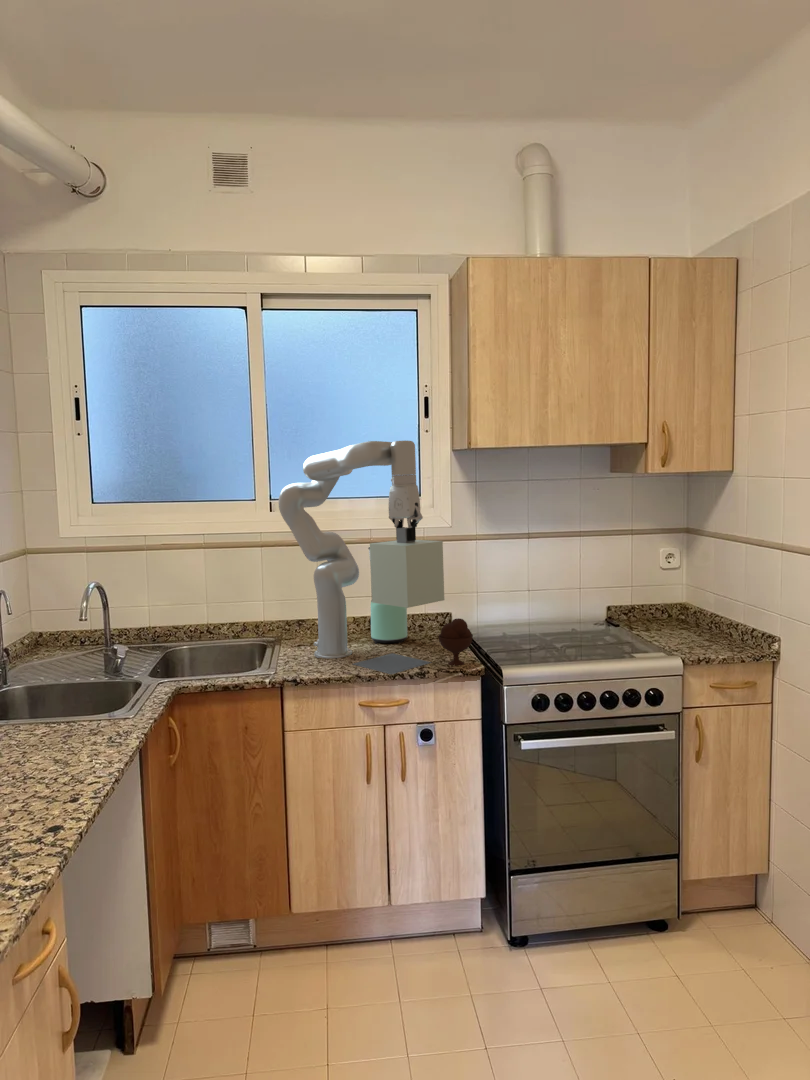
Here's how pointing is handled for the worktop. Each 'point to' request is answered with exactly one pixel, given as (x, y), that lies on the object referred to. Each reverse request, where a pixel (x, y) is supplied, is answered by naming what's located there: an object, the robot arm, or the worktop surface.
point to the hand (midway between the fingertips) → (406, 539)
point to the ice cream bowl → (455, 639)
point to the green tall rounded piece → (388, 623)
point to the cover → (407, 571)
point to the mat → (391, 663)
